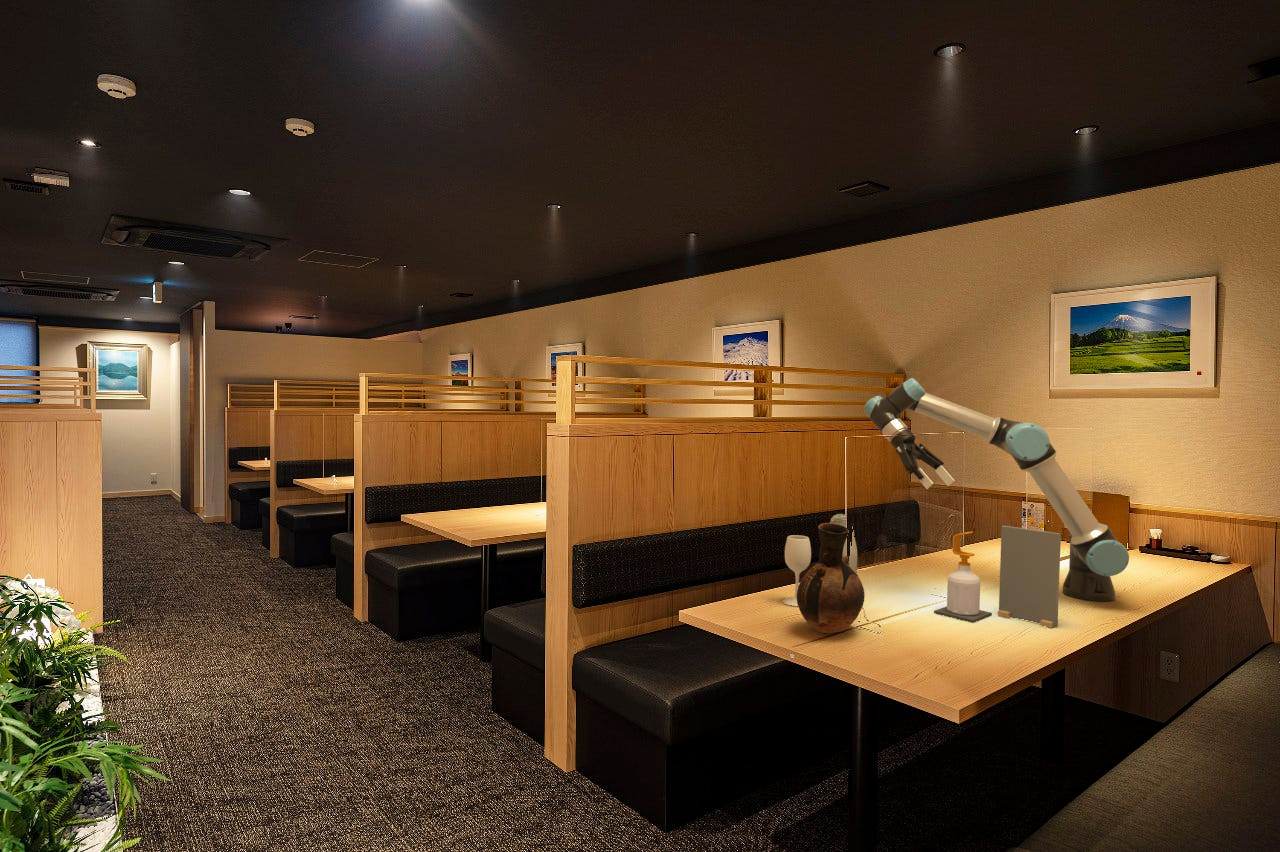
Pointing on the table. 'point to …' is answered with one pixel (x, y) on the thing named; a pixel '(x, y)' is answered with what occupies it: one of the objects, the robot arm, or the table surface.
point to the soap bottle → (963, 584)
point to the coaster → (963, 617)
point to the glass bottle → (841, 520)
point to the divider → (1029, 575)
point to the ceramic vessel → (831, 585)
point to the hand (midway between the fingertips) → (941, 485)
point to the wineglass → (797, 559)
